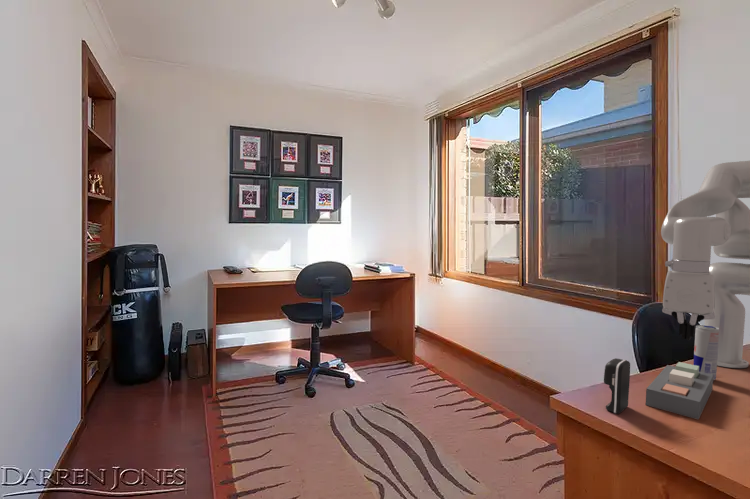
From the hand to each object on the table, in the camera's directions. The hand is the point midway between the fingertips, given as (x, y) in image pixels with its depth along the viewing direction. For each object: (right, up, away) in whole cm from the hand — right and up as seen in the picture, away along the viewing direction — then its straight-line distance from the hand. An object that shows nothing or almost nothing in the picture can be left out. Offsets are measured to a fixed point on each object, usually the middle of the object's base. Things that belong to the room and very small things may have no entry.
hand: (686, 338), depth 103 cm
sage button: (+3, -11, +4) cm, 12 cm away
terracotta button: (-8, -13, -7) cm, 17 cm away
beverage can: (+13, -14, +11) cm, 22 cm away
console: (-3, -14, -1) cm, 15 cm away
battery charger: (-23, -15, -8) cm, 29 cm away
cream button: (-3, -12, -2) cm, 12 cm away
